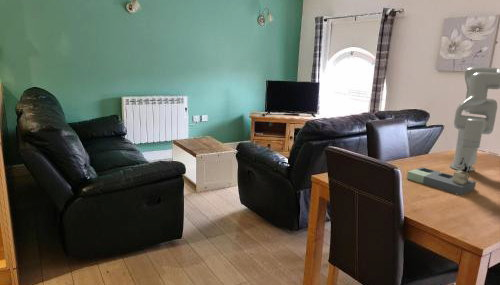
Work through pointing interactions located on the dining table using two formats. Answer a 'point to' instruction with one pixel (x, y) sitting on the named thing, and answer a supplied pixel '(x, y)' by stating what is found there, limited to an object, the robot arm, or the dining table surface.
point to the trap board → (440, 180)
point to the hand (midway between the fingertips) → (464, 178)
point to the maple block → (460, 177)
